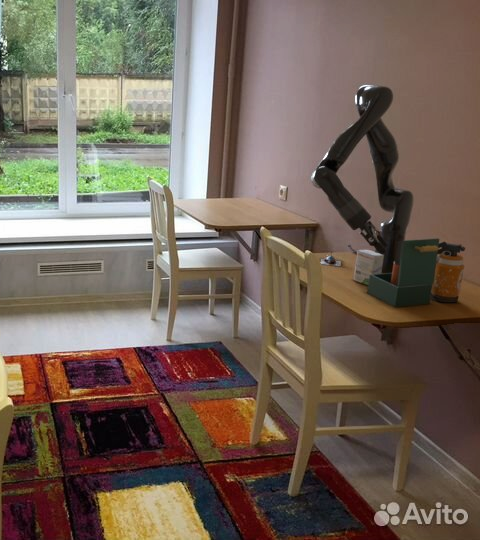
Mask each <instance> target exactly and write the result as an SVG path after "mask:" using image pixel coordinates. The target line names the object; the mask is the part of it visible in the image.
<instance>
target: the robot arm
mask: <svg viewBox="0 0 480 540" xmlns="http://www.w3.org/2000/svg"><path fill="white" fill-rule="evenodd" d="M354 100H355V101H354V102H355V107H356V110H357V112H358V116H359V118H358V119H357V120H356V121H355V122H353V124H351V125H350V126H349V127H347V128H346V129H345V130H343V132H341V133H340V134H339V135H338V136H337V137H336V139H335V140H334V141H333V143H332V144H331V145H330V147H329V149H328V150H327V152H326V153H325V155H324V157H323V159H322V160H321V161H320V162H319V164H318V165H317V167H316V168H315V169H314V170H313V172H312V173H311V176H310V181H311V184H312V186H314V188H316V189H321V190H322V192H323V193H324V194H325V195H326V196H327V200H328V202H329V203H330V204H331V205H332V207H333V208H334V209H335V210H336V211H337V212H338V214H339V216H340V217H341V218H342V220H343V221H344V222H345V223H346V224H347V225H348V227H349V228H350V229H351V230H352V231H356V230H358V229H360V232H359V234H360V235H361V236H362V237H363V238H364V240H365V242H367V243H368V244H369V246H370V247H374V252H376V253H379V254H382V255H384V257H383V264H382V272H381V274H383V273H392V270H393V264H394V263H393V262H394V261H395V260H401V253H402V244H403V241H405V240H406V235H407V229H408V226H409V224H410V221H411V217H412V213H413V208H414V202H415V201H414V200H415V197H414V194H413V192H412V191H411V190H408V189H402V188H399V187H398V188H397V187H395V185H394V180H393V174H394V172H395V170H396V168H397V165H398V163H399V160H400V153H399V148H398V143H397V140H396V138H395V136H394V135H393V133H392V132H391V131H390V129H389V128H388V126H387V125H386V124H385V122H384V121H383V119H382V117H383V116H384V115H385V114H386V112H388V110H389V109H390V108H391V106H392V104H393V102H394V101H393V100H394V92H393V90H392V89H391V88H390V87H388V86H386V85H375V84H364V85H361V86H360V87H359V88H358V89H357V91H356V93H355V99H354ZM364 137H365V138H366V141H367V146H368V150H369V155H370V159H371V163H372V167H373V170H374V172H373V173H374V176H375V182H376V189H377V199H378V204H379V206H380V208H381V210H383V211H385V212H386V213H387V212H388V213H392V214H393V215H392V219H390V220H384V221H382V222H381V223H380V226H379V229H378V228H377V227H376V226H375V225H374V224H373V223H372V221H371V218H372V215H371V214H370V212H368V211H367V209H366V208H365V207H364V206H363V205H362V204H361V202H359V200H358V199H356V197H354V196H353V194H352V193H351V192H350V191H349V190H348V189H347V188H346V187H345V185H344V183H343V182H342V180H341V179H340V177H339V176H338V174H337V173H338V171H339V170H340V168H341V167H342V166H343V165H344V164H345V163H346V161H347V160H348V159H349V158H350V156H351V154H352V153H353V151H354V150H355V149H356V147H357V146H358V144H359V143H360V142H361V141H362V139H363V138H364ZM347 247H348V248H349V249H350V250H351V251H352V252H353V253H355V254H357V250H355V249H353V248H352V244H348V245H347Z"/></svg>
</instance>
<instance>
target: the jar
mask: <svg viewBox="0 0 480 540" xmlns="http://www.w3.org/2000/svg"><path fill="white" fill-rule="evenodd" d="M400 261H401V260H395V261H394V262H393V263H394V264H393V270H392V277H391V284H393V285H395V286H397V287H398V278H399V270H400ZM402 287H403V286H402Z"/></svg>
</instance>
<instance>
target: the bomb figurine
mask: <svg viewBox="0 0 480 540" xmlns="http://www.w3.org/2000/svg"><path fill="white" fill-rule="evenodd" d="M332 254H333V249H330V255H329V254H327V255H326V257H324V258H320V263H321V264H320V265H326V266H336V267H341V266H342V260H336V258H335V257H334V256H332Z"/></svg>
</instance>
